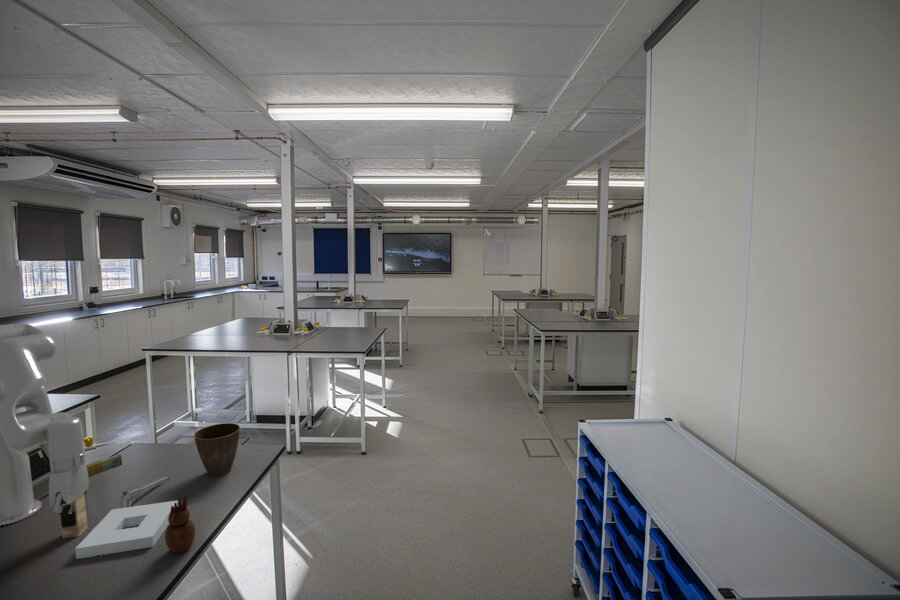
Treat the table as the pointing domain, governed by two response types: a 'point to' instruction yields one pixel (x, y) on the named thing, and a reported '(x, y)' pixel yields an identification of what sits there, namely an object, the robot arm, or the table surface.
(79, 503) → the maple peg
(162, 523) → the socket plate
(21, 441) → the robot arm
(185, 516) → the wooden figurine
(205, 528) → the table surface
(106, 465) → the medication box
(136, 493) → the caliper
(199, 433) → the plant pot
